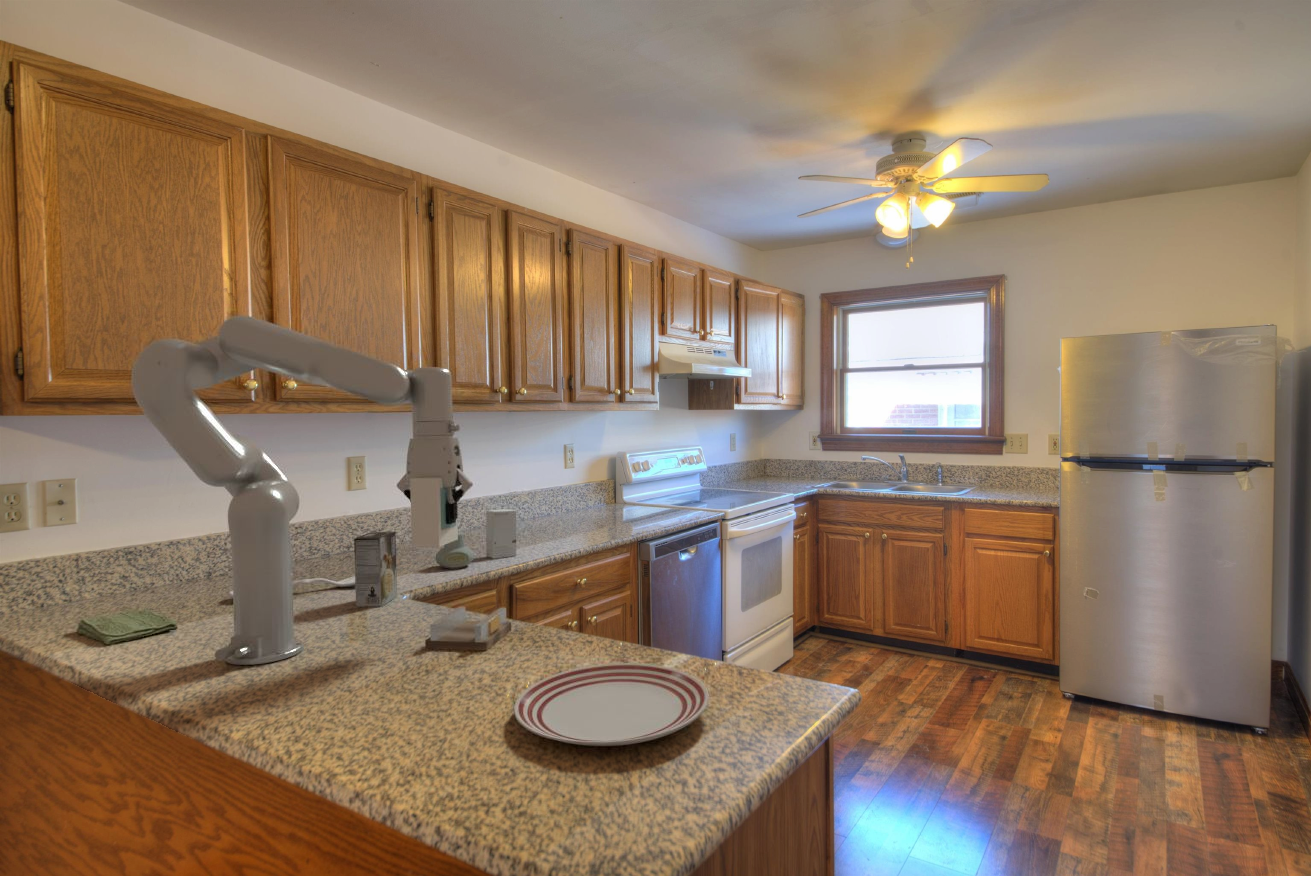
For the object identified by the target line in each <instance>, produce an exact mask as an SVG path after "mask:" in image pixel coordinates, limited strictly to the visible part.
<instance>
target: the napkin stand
mask: <svg viewBox="0 0 1311 876" xmlns="http://www.w3.org/2000/svg"><path fill="white" fill-rule="evenodd" d="M480 622H481V621H474V620H473V621H472V620H469V621H468V620H466V621H465V622H464V623H462V624H461V625H459V626H458V627H456V628H455V629H453V630H452V631H450V632H449V633H447V634H446V635H444V636H443V637H441V638H440V639H438V640H437V641H431V636H430V637H428V638H426V639H425V642H424V643H425V644H424V646H425V647H424V648H425V649H432V648H433V650H438V649H439V650H458V651H459V650H461V651H462V650H463V651H464V650H465V651H486V652H487V651H489V650H490V648H491V647H492V646H494V645H495V644H496V643H498V642H499V641H500V640H501V639H502V638H503V637H505V636H506V635H507V634H509V633H510V632H511V631H512V622H509V621H508V622H507V621H506V623H505V624H504V625H502V626H501V627H500V628H499V629H497V630H496V631H495V632H494V633H492V634H491V635H490V636H488V637H487V638H486V639H485V640H483V641H482V642H475V625H477V624H478V623H480Z"/></svg>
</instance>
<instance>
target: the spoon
mask: <svg viewBox="0 0 1311 876" xmlns="http://www.w3.org/2000/svg"><path fill="white" fill-rule="evenodd" d="M315 583H324V584H329V585H332V586H335V587H340V588H349V587H353V586H355V575H353V576H350V577H347V578H345V579H342V580H338V581H335V580H331V579H327V578H323V577H321V578H320V577H317V578H315V577H314V578H307V579H306V578H305V579H300V580H295V581H293V587H296V586H299V585H309V584H315ZM228 595H229V597H231V598H233V590H231V591H229V592H228Z"/></svg>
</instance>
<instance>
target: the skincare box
mask: <svg viewBox="0 0 1311 876" xmlns="http://www.w3.org/2000/svg"><path fill="white" fill-rule="evenodd" d="M485 514H486V515H485V521H486V524H485V529H486V530H485V533H486V535H485V536H486V537H485V538H486V539H485V542H486V543H485V544H486V545H485V547H486V549H485V556H486V557H487V558H490V559H492V560H495V559H502V557H504V558H511V557H516V556H517V510H516V509H509V508H508V509H507V508H506V509H490V510H489V509H488V510H485Z"/></svg>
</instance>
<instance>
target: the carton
mask: <svg viewBox="0 0 1311 876" xmlns="http://www.w3.org/2000/svg"><path fill="white" fill-rule="evenodd" d="M409 488H410V493H411V503H410V517H411V518H410V523H411V524H410V526H411V527H410V528H411V547H414V548H420V547H421V548H422V547H423V548H427V547H429V548H440V547H444V545H445V544H448V543H450V542H453V541H455V540H458V532H459V530H458V529H459V528H458V518H457V519H456V522H455V523H452V524H446V504H447V503H448V500H447V497H446V494H445V488H443V483H442V477H441V478H410V487H409ZM456 490H458V487H456Z"/></svg>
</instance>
